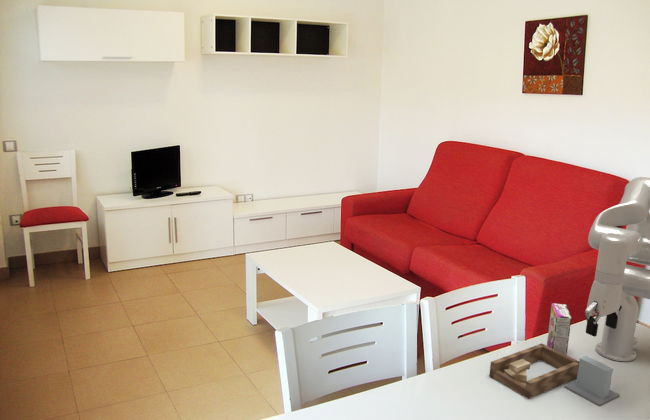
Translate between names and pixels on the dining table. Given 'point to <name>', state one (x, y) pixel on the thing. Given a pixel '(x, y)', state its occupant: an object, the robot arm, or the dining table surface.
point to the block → (594, 377)
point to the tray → (540, 384)
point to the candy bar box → (559, 328)
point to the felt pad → (591, 394)
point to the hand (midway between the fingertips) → (600, 330)
